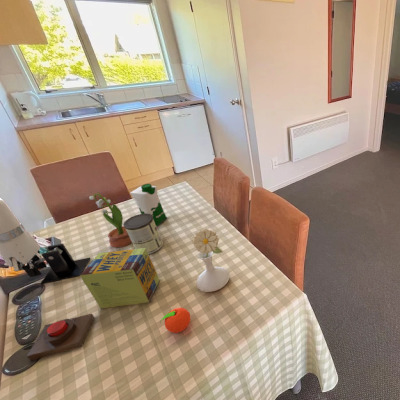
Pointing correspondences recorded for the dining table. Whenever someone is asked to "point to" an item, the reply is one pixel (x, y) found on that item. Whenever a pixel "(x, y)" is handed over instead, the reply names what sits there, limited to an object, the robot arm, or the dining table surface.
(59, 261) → the bracket
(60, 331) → the button
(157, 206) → the milk carton
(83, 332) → the button block
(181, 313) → the clementine
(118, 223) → the potted flower
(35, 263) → the toast lever
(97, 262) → the protein box
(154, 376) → the dining table surface
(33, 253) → the robot arm
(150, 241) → the coffee can
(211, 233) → the flower in vase
